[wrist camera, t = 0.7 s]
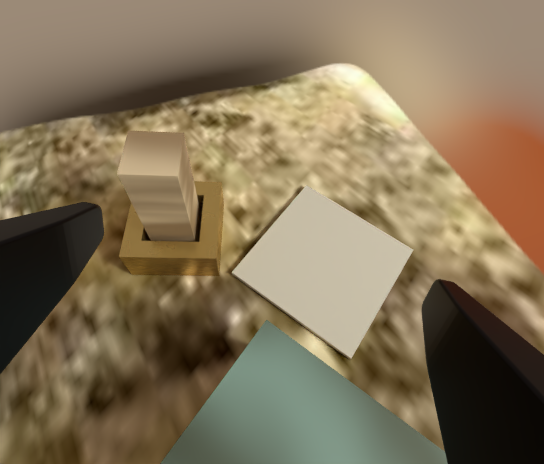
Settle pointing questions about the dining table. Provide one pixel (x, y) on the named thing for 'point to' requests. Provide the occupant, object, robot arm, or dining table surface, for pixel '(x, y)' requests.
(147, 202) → the brown square block
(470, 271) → the dining table surface
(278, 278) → the grey mat
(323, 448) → the drawer
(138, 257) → the frame
